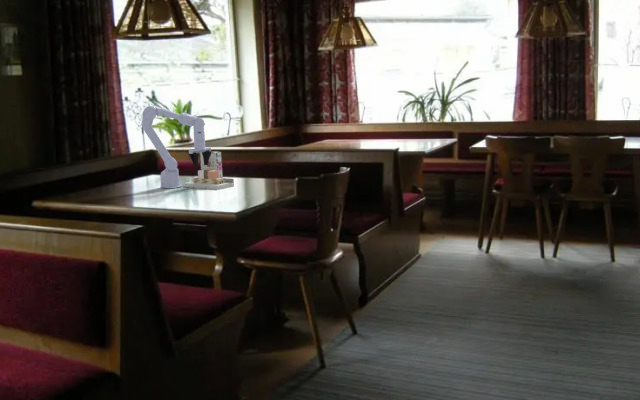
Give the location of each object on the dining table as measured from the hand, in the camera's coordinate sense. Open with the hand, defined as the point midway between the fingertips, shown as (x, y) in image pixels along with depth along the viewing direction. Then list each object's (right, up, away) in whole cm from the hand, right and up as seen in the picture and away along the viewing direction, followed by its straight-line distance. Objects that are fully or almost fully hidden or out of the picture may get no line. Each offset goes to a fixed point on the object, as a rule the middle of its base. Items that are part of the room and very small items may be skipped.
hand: (201, 165), depth 366 cm
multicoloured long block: (+5, -9, -4) cm, 11 cm away
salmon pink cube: (+8, -7, -7) cm, 12 cm away
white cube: (+2, -6, -3) cm, 7 cm away
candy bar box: (+3, -8, +17) cm, 19 cm away
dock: (+5, -11, -4) cm, 13 cm away
